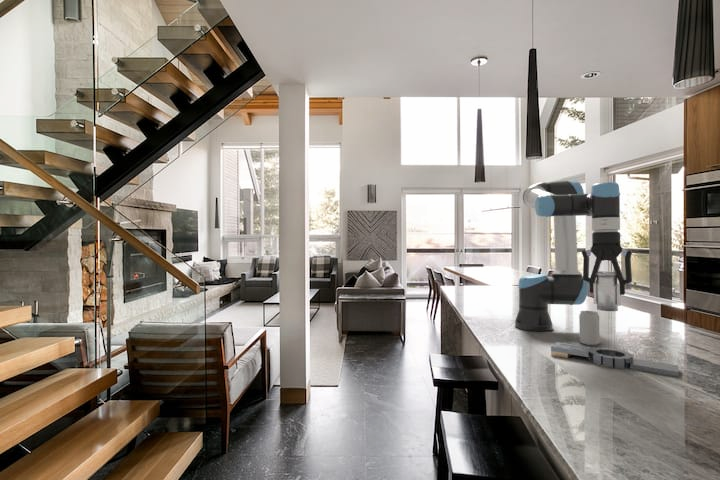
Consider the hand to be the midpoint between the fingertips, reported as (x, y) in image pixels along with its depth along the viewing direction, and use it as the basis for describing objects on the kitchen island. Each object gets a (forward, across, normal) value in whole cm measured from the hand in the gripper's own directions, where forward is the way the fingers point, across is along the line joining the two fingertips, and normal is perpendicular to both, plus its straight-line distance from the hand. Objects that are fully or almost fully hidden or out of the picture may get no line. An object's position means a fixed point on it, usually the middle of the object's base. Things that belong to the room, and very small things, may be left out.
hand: (607, 304), depth 121 cm
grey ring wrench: (+19, +1, 0) cm, 19 cm away
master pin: (+2, 0, 0) cm, 2 cm away
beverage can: (+18, -9, +20) cm, 29 cm away
